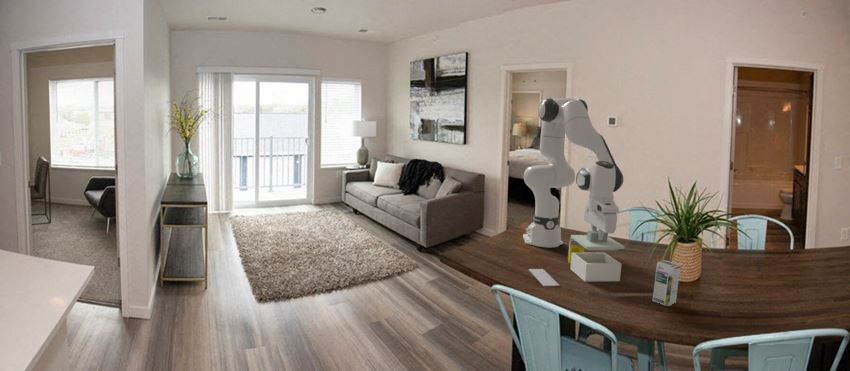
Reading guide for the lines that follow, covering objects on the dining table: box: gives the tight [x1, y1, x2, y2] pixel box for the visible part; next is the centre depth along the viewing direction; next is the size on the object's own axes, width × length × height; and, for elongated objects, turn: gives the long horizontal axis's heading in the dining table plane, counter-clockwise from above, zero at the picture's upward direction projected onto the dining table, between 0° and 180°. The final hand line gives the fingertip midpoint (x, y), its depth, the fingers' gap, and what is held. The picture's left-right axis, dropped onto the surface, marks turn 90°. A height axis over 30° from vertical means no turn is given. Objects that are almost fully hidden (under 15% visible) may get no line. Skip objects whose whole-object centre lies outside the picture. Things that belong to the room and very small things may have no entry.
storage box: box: [570, 251, 622, 283], centre depth 191 cm, size 14×14×8 cm
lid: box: [570, 230, 626, 251], centre depth 189 cm, size 15×15×6 cm
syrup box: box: [651, 259, 682, 307], centre depth 167 cm, size 6×6×14 cm
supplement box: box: [567, 236, 586, 265], centre depth 206 cm, size 6×6×11 cm
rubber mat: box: [528, 268, 562, 287], centre depth 190 cm, size 18×16×1 cm
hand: (597, 237), depth 189 cm, fingers closed on lid, 3 cm apart
